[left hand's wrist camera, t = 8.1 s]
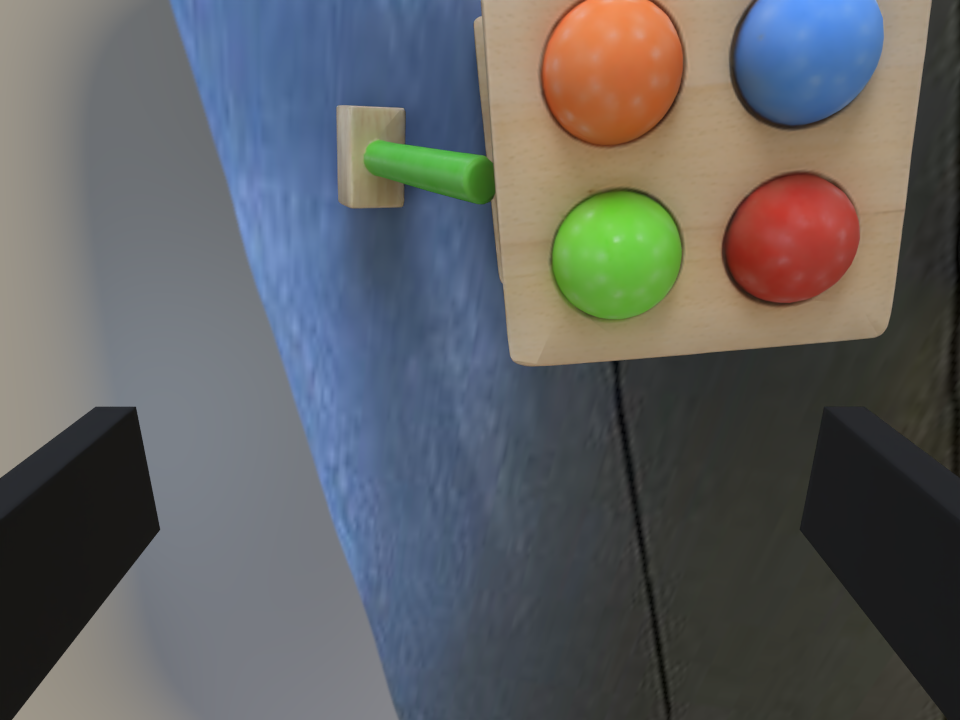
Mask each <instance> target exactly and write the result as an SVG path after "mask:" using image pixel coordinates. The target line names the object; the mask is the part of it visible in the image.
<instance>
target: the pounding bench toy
mask: <svg viewBox="0 0 960 720" xmlns="http://www.w3.org/2000/svg"><path fill="white" fill-rule="evenodd" d="M931 2H932V0H481V11H482V16H480V17H478V18H476V20H475V21H474V36H475V48H476V58H477V69H478V79H479V88H480V98H481V108H482V118H483V128H484V138H485V148H486V156H483V155H476V154H469V153H460V152H453V151H446V150H439V149H432V148H425V147H418V146H412V145H405V115H406V113H405V110H404V108H393V107H369V106H348V105H338V106H337V164H338V200H339V202H340V203H341V204H343V205H345V206H347V207H349V208H390V207H402V206H403V204H404V184H407V185H410V186H413V187H417V188H420V189H424V190H427V191H430V192H434V193H438V194H442V195H445V196H449V197H453V198H457V199H460V200H464V201H468V202H472V203H476V204H485V203H488V202H490V201H491V206H492V216H493V225H494V235H495V245H496V253H497V262H498V271H499V277H500V281H501V282H502V283H503V289H504V300H505V312H506V323H507V335H508V343H509V351H510V357H511V358H512V360H513V361H514V362H515V363H517V364H521V365H524V366H549V365H564V364H577V363H591V362H603V361H616V360H628V359H641V358H653V357H665V356H677V355H689V354H699V353H708V352H719V351H731V350H743V349H756V348H767V347H779V346H790V345H801V344H812V343H823V342H835V341H845V340H856V339H866V338H875V337H877V336H879V335H881V334H882V333H883V332H884V331H885V329H886V328H887V326H888V323H889V319H890V314H891V309H892V303H893V297H894V290H895V282H896V275H897V267H898V259H899V251H900V243H901V235H902V227H903V220H904V213H905V205H906V197H907V188H908V179H909V170H910V161H911V153H912V145H913V138H914V131H915V123H916V116H917V108H918V101H919V94H920V86H921V78H922V70H923V63H924V57H925V51H926V42H927V33H928V25H929V17H930V9H931Z"/></svg>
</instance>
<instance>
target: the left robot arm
mask: <svg viewBox="0 0 960 720" xmlns="http://www.w3.org/2000/svg"><path fill="white" fill-rule="evenodd" d="M958 261H959V270H960V235H959V244H958ZM159 530H160V526H159V522H158V516H157V511H156V506H155V501H154V496H153V491H152V486H151V481H150V476H149V471H148V466H147V461H146V456H145V451H144V445H143V440H142V435H141V430H140V425H139V420H138V415H137V410H136V407H95V408H93V409H92V410H91V411H89V412H88V413H87V414H85V415H84V416H83V417H81V418H80V419H79V420H77V421H76V422H75V423H73V424H72V425H71V426H69V427H68V428H67V429H65V430H64V431H63V432H61V433H60V434H59V435H57V436H56V437H55V438H53V439H52V440H51V441H49V442H48V443H47V444H45V445H44V446H43V447H41V448H40V449H39V450H37V451H36V452H35V453H33V454H32V455H31V456H29V457H28V458H27V459H25V460H24V461H23V462H21V463H20V464H19V465H17V466H16V467H15V468H13V469H12V470H11V471H9V472H8V473H7V474H5V475H4V476H3V477H1V478H0V720H12V719H13V718H14V716H15V715H16V714H17V713H18V711H19V710H20V709H21V707H22V706H23V705H24V704H25V702H26V701H27V700H28V699H29V697H30V696H31V695H32V693H33V692H34V691H35V690H36V688H37V687H38V686H39V684H40V683H41V682H42V681H43V679H44V678H45V677H46V675H47V674H48V673H49V671H50V670H51V669H52V668H53V666H54V665H55V664H56V663H57V661H58V660H59V659H60V657H61V656H62V655H63V654H64V652H65V651H66V650H67V648H68V647H69V646H70V645H71V643H72V642H73V641H74V639H75V638H76V637H77V636H78V634H79V633H80V632H81V630H82V629H83V628H84V627H85V625H86V624H87V623H88V621H89V620H90V619H91V618H92V616H93V615H94V614H95V613H96V611H97V610H98V609H99V607H100V606H101V605H102V603H103V602H104V601H105V600H106V598H107V597H108V596H109V595H110V593H111V592H112V591H113V589H114V588H115V587H116V586H117V584H118V583H119V582H120V580H121V579H122V578H123V577H124V575H125V574H126V573H127V572H128V570H129V569H130V568H131V566H132V565H133V564H134V562H135V561H136V560H137V559H138V557H139V556H140V555H141V554H142V552H143V551H144V550H145V548H146V547H147V546H148V545H149V543H150V542H151V541H152V539H153V538H154V537H155V536H156V534H157V533H158V532H159ZM800 530H801V532H802V533H803V534H804V536H805V537H806V538H807V539H808V541H809V542H810V543H811V545H812V546H813V547H814V548H815V550H816V551H817V552H818V554H819V555H820V556H821V557H822V559H823V560H824V561H825V563H826V564H827V565H828V566H829V568H830V569H831V570H832V572H833V573H834V574H835V575H836V577H837V578H838V579H839V580H840V582H841V583H842V584H843V586H844V587H845V588H846V589H847V591H848V592H849V593H850V595H851V596H852V597H853V598H854V600H855V601H856V602H857V604H858V605H859V606H860V607H861V609H862V610H863V611H864V613H865V614H866V615H867V616H868V618H869V619H870V620H871V622H872V623H873V624H874V625H875V627H876V628H877V629H878V631H879V632H880V633H881V634H882V636H883V637H884V638H885V640H886V641H887V642H888V643H889V645H890V646H891V647H892V648H893V650H894V651H895V652H896V654H897V655H898V656H899V657H900V659H901V660H902V661H903V663H904V664H905V665H906V666H907V668H908V669H909V670H910V672H911V673H912V674H913V675H914V677H915V678H916V679H917V681H918V682H919V683H920V684H921V686H922V687H923V688H924V690H925V691H926V692H927V693H928V695H929V696H930V697H931V699H932V700H933V701H934V702H935V704H936V705H937V706H938V708H939V709H940V710H941V711H942V713H943V714H944V715H945V716H946V718H947V719H948V720H960V478H959V477H958V476H956V475H955V474H953V473H952V472H951V471H949V470H948V469H947V468H945V467H944V466H943V465H941V464H940V463H939V462H937V461H936V460H935V459H933V458H932V457H931V456H929V455H928V454H927V453H925V452H924V451H923V450H921V449H920V448H919V447H917V446H916V445H915V444H913V443H912V442H911V441H909V440H908V439H907V438H905V437H904V436H903V435H901V434H900V433H899V432H897V431H896V430H895V429H893V428H892V427H891V426H889V425H888V424H887V423H885V422H884V421H883V420H881V419H880V418H879V417H877V416H876V415H875V414H873V413H872V412H871V411H869V410H868V409H867V408H865V407H824V410H823V415H822V420H821V425H820V430H819V435H818V440H817V445H816V451H815V456H814V461H813V466H812V471H811V476H810V481H809V486H808V491H807V496H806V501H805V506H804V511H803V516H802V521H801V526H800Z"/></svg>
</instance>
